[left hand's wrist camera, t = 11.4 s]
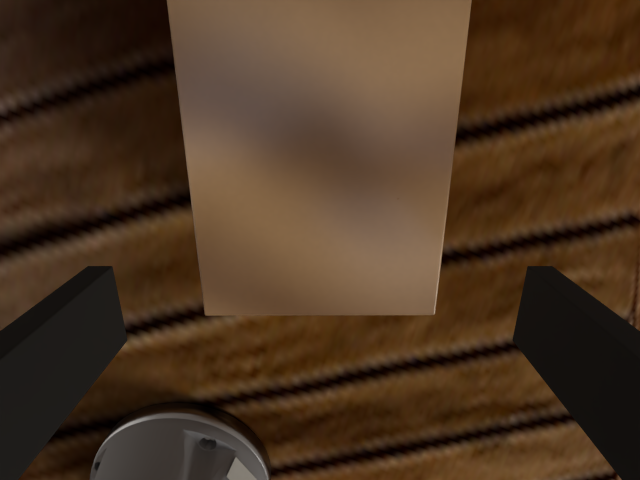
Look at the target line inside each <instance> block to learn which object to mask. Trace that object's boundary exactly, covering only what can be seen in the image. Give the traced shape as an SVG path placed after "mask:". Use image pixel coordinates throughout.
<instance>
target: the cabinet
mask: <svg viewBox="0 0 640 480" xmlns="http://www.w3.org/2000/svg"><path fill="white" fill-rule="evenodd" d="M471 1H472V0H167V6H168V14H169V23H170V31H171V39H172V47H173V56H174V64H175V72H176V80H177V89H178V97H179V105H180V113H181V122H182V130H183V138H184V146H185V155H186V163H187V171H188V179H189V188H190V196H191V204H192V213H193V221H194V229H195V237H196V246H197V254H198V262H199V270H200V279H201V287H202V295H203V303H204V312H205V315H435V310H436V302H437V293H438V284H439V276H440V267H441V259H442V250H443V241H444V233H445V224H446V216H447V207H448V199H449V190H450V181H451V173H452V164H453V156H454V147H455V138H456V130H457V121H458V113H459V104H460V95H461V87H462V78H463V70H464V61H465V53H466V44H467V35H468V27H469V18H470V10H471Z"/></svg>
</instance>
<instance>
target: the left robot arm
mask: <svg viewBox="0 0 640 480" xmlns="http://www.w3.org/2000/svg"><path fill="white" fill-rule="evenodd" d="M126 341H127V336H126V331H125V326H124V321H123V316H122V311H121V306H120V302H119V297H118V292H117V287H116V282H115V277H114V272H113V267H112V266H88V267H86V268H85V269H84V270H82V271H81V272H80V273H78V274H77V275H76V276H74V277H73V278H71V279H70V280H69V281H67V282H66V283H65V284H63V285H62V286H61V287H59V288H58V289H57V290H55V291H54V292H53V293H51V294H50V295H49V296H47V297H46V298H45V299H43V300H42V301H40V302H39V303H38V304H36V305H35V306H34V307H32V308H31V309H30V310H28V311H27V312H26V313H24V314H23V315H22V316H20V317H19V318H18V319H16V320H15V321H13V322H12V323H11V324H9V325H8V326H7V327H5V328H4V329H3V330H1V331H0V480H18V479H19V478H20V477H21V475H22V474H23V473H24V471H25V470H26V469H27V468H28V466H29V465H30V464H31V462H32V461H33V460H34V459H35V457H36V456H37V455H38V454H39V452H40V451H41V450H42V448H43V447H44V446H45V445H46V443H47V442H48V441H49V440H50V438H51V437H52V436H53V434H54V433H55V432H56V431H57V429H58V428H59V427H60V425H61V424H62V423H63V422H64V420H65V419H66V418H67V417H68V415H69V414H70V413H71V411H72V410H73V409H74V408H75V406H76V405H77V404H78V403H79V401H80V400H81V399H82V397H83V396H84V395H85V394H86V392H87V391H88V390H89V388H90V387H91V386H92V385H93V383H94V382H95V381H96V380H97V378H98V377H99V376H100V374H101V373H102V372H103V371H104V369H105V368H106V367H107V366H108V364H109V363H110V362H111V360H112V359H113V358H114V357H115V355H116V354H117V353H118V351H119V350H120V349H121V348H122V346H123V345H124V344H125V343H126ZM513 341H514V343H515V344H516V345H517V346H518V348H519V349H520V350H521V351H522V353H523V354H524V355H525V357H526V358H527V359H528V360H529V362H530V363H531V364H532V366H533V367H534V368H535V369H536V371H537V372H538V373H539V374H540V376H541V377H542V378H543V380H544V381H545V382H546V383H547V385H548V386H549V387H550V388H551V390H552V391H553V392H554V394H555V395H556V396H557V397H558V399H559V400H560V401H561V403H562V404H563V405H564V406H565V408H566V409H567V410H568V411H569V413H570V414H571V415H572V417H573V418H574V419H575V420H576V422H577V423H578V424H579V425H580V427H581V428H582V429H583V431H584V432H585V433H586V434H587V436H588V437H589V438H590V440H591V441H592V442H593V443H594V445H595V446H596V447H597V448H598V450H599V451H600V452H601V454H602V455H603V456H604V457H605V459H606V460H607V461H608V463H609V464H610V465H611V466H612V468H613V469H614V470H615V471H616V473H617V474H618V475H619V477H620V478H621V479H622V480H640V331H639V330H637V329H636V328H635V327H633V326H632V325H631V324H629V323H628V322H627V321H625V320H624V319H622V318H621V317H620V316H618V315H617V314H616V313H614V312H613V311H612V310H610V309H609V308H608V307H606V306H605V305H604V304H602V303H601V302H600V301H598V300H597V299H595V298H594V297H593V296H591V295H590V294H589V293H587V292H586V291H585V290H583V289H582V288H581V287H579V286H578V285H577V284H575V283H574V282H573V281H571V280H570V279H569V278H567V277H566V276H564V275H563V274H562V273H560V272H559V271H558V270H556V269H555V268H554V267H552V266H528V267H527V272H526V277H525V282H524V287H523V292H522V297H521V302H520V306H519V311H518V316H517V321H516V326H515V331H514V336H513ZM270 479H271V465H270V460H269V456H268V454H267V451H266V449H265V447H264V446H263V444H262V443H261V441H260V440H259V438H258V437H257V436H256V435H255V434H254V433H253V432H252V431H251V430H250V429H249V428H248V427H247V426H245V425H244V424H243V423H241V422H240V421H238V420H237V419H235V418H233V417H232V416H230V415H228V414H226V413H223V412H221V411H219V410H216V409H213V408H210V407H206V406H202V405H197V404H189V403H164V404H157V405H152V406H149V407H145V408H142V409H140V410H137V411H135V412H133V413H131V414H129V415H128V416H126V417H125V418H123V419H122V420H121V421H119V422H118V423H117V424H116V425H115V426H114V427H113V429H112V430H111V431H110V433H109V434H108V436H107V437H106V439H105V441H104V442H103V444H102V445H101V447H100V449H99V450H98V452H97V454H96V457H95V459H94V463H93V466H92V470H91V474H90V480H270Z"/></svg>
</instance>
